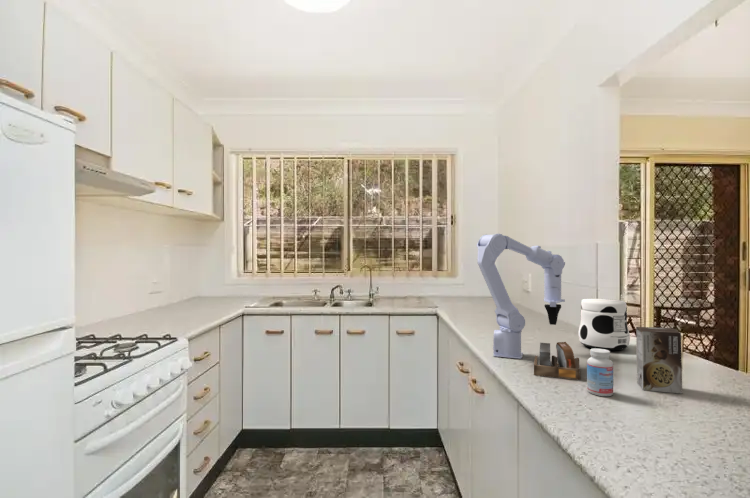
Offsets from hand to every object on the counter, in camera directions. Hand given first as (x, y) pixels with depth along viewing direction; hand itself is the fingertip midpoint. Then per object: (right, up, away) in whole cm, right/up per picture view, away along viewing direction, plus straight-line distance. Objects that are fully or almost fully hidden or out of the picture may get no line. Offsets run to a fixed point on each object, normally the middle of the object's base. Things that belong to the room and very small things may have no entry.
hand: (552, 324), depth 151 cm
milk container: (+23, -11, +8) cm, 26 cm away
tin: (-6, -11, -23) cm, 26 cm away
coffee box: (+12, -11, -39) cm, 42 cm away
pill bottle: (-6, -11, -42) cm, 44 cm away
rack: (-8, -10, -22) cm, 26 cm away
